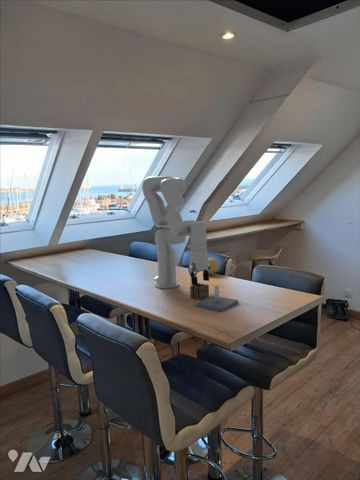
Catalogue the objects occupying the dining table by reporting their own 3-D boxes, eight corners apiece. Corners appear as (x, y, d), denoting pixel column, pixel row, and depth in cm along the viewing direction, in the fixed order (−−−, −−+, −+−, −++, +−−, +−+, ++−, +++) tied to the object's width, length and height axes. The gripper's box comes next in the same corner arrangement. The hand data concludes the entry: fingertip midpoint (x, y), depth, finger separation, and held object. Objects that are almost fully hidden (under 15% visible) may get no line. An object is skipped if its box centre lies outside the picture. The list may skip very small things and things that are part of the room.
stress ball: (220, 276, 222) (220, 263, 228) (215, 266, 215) (216, 253, 221) (204, 278, 225) (204, 265, 231) (199, 268, 218) (200, 255, 224)
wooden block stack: (190, 298, 178) (190, 286, 177) (198, 294, 183) (197, 283, 182) (201, 300, 174) (201, 287, 173) (208, 296, 179) (208, 284, 178)
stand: (195, 306, 165) (194, 288, 164) (212, 298, 176) (212, 281, 175) (222, 312, 157) (221, 292, 156) (238, 303, 168) (238, 285, 167)
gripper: (202, 244, 184) (204, 278, 186) (181, 249, 170) (183, 285, 172) (215, 245, 179) (216, 279, 181) (194, 250, 166) (196, 287, 168)
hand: (200, 282), depth 177 cm, fingers open, 9 cm apart
